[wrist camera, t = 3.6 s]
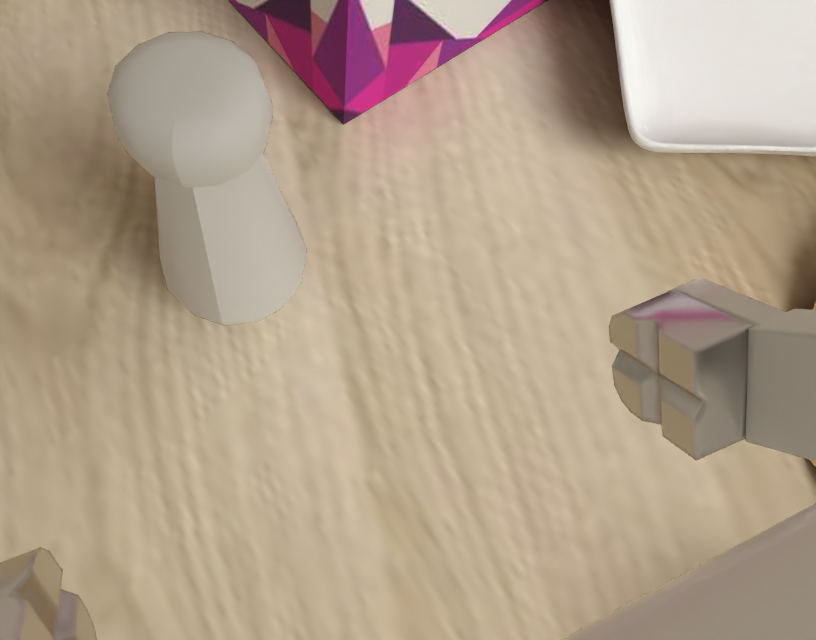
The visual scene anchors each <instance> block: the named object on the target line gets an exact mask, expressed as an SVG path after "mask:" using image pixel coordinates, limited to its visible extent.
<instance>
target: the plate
mask: <svg viewBox="0 0 816 640" xmlns="http://www.w3.org/2000/svg"><path fill="white" fill-rule="evenodd" d="M609 1H610V7H611V14H612V21H613V28H614V36H615V45H616V53H617V61H618V69H619V77H620V85H621V93H622V99H623V106H624V112H625V117H626V122H627V126H628V130H629V134H630V136H631V138H632V140H633V141H634V142H635V143H636V144H637V145H638V146H640V147H641V148H643V149H645V150H648V151H652V152H661V153H750V154H778V155H797V156H816V0H609Z"/></svg>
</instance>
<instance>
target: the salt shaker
mask: <svg viewBox="0 0 816 640" xmlns="http://www.w3.org/2000/svg"><path fill="white" fill-rule="evenodd" d="M108 99H109V105H110V110H111V114H112V118H113V121H114V125H115V128H116V132H117V136H118V139H119V141H120V142H121V144H122V146H123V147H124V149H125V151H126V152H127V153H128V154H129V155H130V156H131V157H132V158H133V159H134V160H135V161H136V162H138V163H139V164H140V165H141V166H142V167H143V168H144V169H145V170H146V171H147V172H148V173H149V174H151V175H152V176H154V177H155V192H156V207H157V221H158V236H159V251H160V263H161V266H162V270H163V274H164V277H165V281H166V285H167V288H168V290H169V291H170V292H171V293H172V294H173V295H174V296H175V297H176V298H177V299H178V300H179V301H180V302H181V303H182V304H183V305H184V306H185V307H186V308H187V309H188V310H189V311H191V312H192V313H193V314H194V315H195V316H198V317H201V318H204V319H207V320H210V321H213V322H216V323H219V324H222V325H235V324H242V323H252V322H258V321H260V320H261V319H263V318H265V317H267V316H269V315H270V314H272V313H274V312H276V311H278V310H280V309H281V308H283V307H284V306H285V305H286V304H287V302H288V301H289V300H290V298H291V297H292V295H293V294H294V293H295V291H296V290H297V288H298V287H299V286H300V284H301V283H302V279H303V272H304V266H305V259H306V253H307V248H306V246H305V243H304V240H303V238H302V235H301V233H300V230H299V227H298V225H297V222H296V220H295V218H294V216H293V214H292V212H291V210H290V208H289V206H288V205H287V203H286V201H285V199H284V197H283V195H282V193H281V190H280V188H279V186H278V184H277V182H276V179H275V177H274V175H273V173H272V170H271V168H270V166H269V164H268V162H267V159H266V157H265V155H264V153H263V152H264V150H265V148H266V146H267V143H268V138H269V133H270V128H271V123H272V118H273V115H272V101H271V99H270V96H269V93H268V91H267V88H266V86H265V83H264V81H263V78H262V76H261V73H260V71H259V68H258V66H257V63H256V61H255V60H254V59H253V58H251V57H250V56H249V55H248V54H247V53H246V52H245V51H244V50H242V49H241V48H240V47H239V46H238V45H237V44H236V43H235V42H233V41H230V40H227V39H224V38H221V37H218V36H214V35H211V34H208V33H205V32H168V33H166V34H163V35H161V36H158V37H156V38H153V39H151V40H148V41H146V42H143V43H141V44H139V45H137V46H136V47H135V48H134V49H133V50H132V51H131V52H130V53H129V54H128V55H127V56H126V57H124V58H123V59H122V60H121V61H120V62H119V63H118V64H117V65H116V66H115V69H114V73H113V76H112V80H111V83H110V87H109V90H108Z"/></svg>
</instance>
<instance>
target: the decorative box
mask: <svg viewBox="0 0 816 640" xmlns="http://www.w3.org/2000/svg"><path fill="white" fill-rule="evenodd" d="M229 1H230V2H231V3H232V4H233V5H234V6H235V7H236V8H237V9H238V11H239V12H240V13H241V14H242V15H243V16H244V17H245V18H246V19H247V20H248V21H249V22H250V24H251V25H252V26H253V27H254V28H255V29H256V30H257V31H258V32H259V33H260V34H261V35H262V37H263V38H264V39H265V40H266V41H267V42H268V43H269V44H270V45H271V46H272V47H273V48H274V50H275V51H276V52H277V53H278V54H279V55H280V56H281V57H282V58H283V59H284V60H285V61H286V63H287V64H288V65H289V66H290V67H291V68H292V69H293V70H294V71H295V72H296V73H297V74H298V76H299V77H300V78H301V79H302V80H303V81H304V82H305V83H306V84H307V85H308V86H309V87H310V89H311V90H312V91H313V92H314V93H315V94H316V95H317V96H318V97H319V98H320V99H321V100H322V102H323V103H324V104H325V105H326V106H327V107H328V108H329V109H330V110H331V111H332V112H333V113H334V115H335V116H336V117H337V118H338V119H339V120H340V121H341V122H342V123H343V124H346V123H347V122H349V121H350V120H352V119H354V118H355V117H357V116H359V115H360V114H362V113H364V112H365V111H367V110H369V109H370V108H372V107H373V106H375V105H377V104H378V103H380V102H382V101H383V100H385V99H387V98H388V97H390V96H391V95H393V94H395V93H396V92H398V91H400V90H401V89H403V88H405V87H406V86H408V85H410V84H411V83H413V82H414V81H416V80H418V79H419V78H421V77H423V76H424V75H426V74H428V73H429V72H431V71H432V70H434V69H436V68H437V67H439V66H441V65H442V64H444V63H446V62H447V61H449V60H451V59H452V58H454V57H455V56H457V55H459V54H460V53H462V52H464V51H465V50H467V49H469V48H470V47H472V46H473V45H475V44H477V43H478V42H480V41H482V40H483V39H485V38H487V37H488V36H490V35H492V34H493V33H495V32H496V31H498V30H500V29H501V28H503V27H505V26H506V25H508V24H510V23H511V22H513V21H514V20H516V19H518V18H519V17H521V16H523V15H524V14H526V13H528V12H529V11H531V10H533V9H534V8H536V7H537V6H539V5H541V4H542V3H544V2H546V1H547V0H229Z"/></svg>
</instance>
